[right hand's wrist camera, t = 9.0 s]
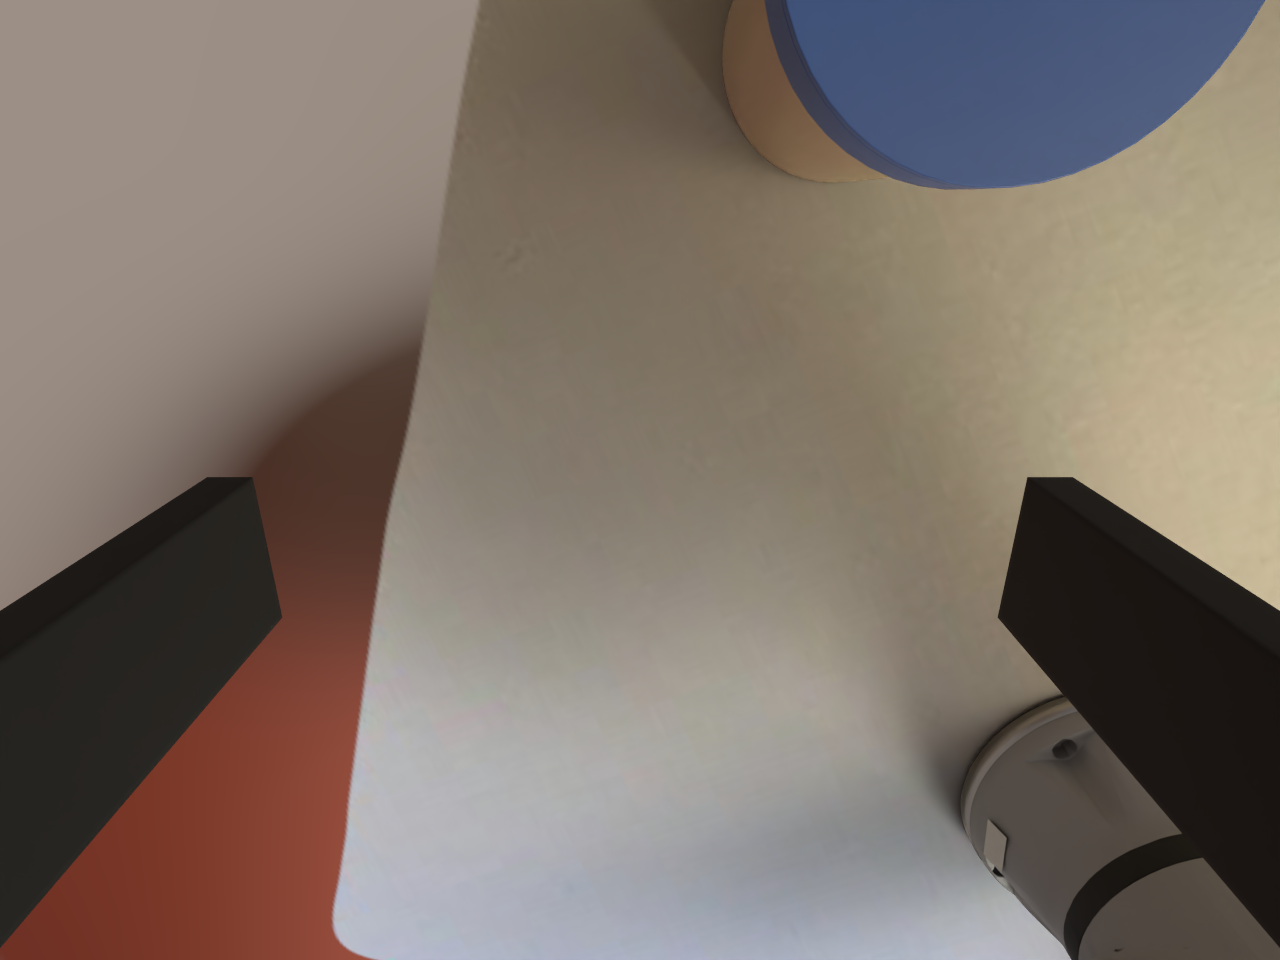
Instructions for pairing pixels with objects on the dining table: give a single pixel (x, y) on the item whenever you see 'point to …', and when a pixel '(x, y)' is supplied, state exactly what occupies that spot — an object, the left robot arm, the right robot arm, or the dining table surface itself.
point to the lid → (998, 79)
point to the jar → (777, 104)
